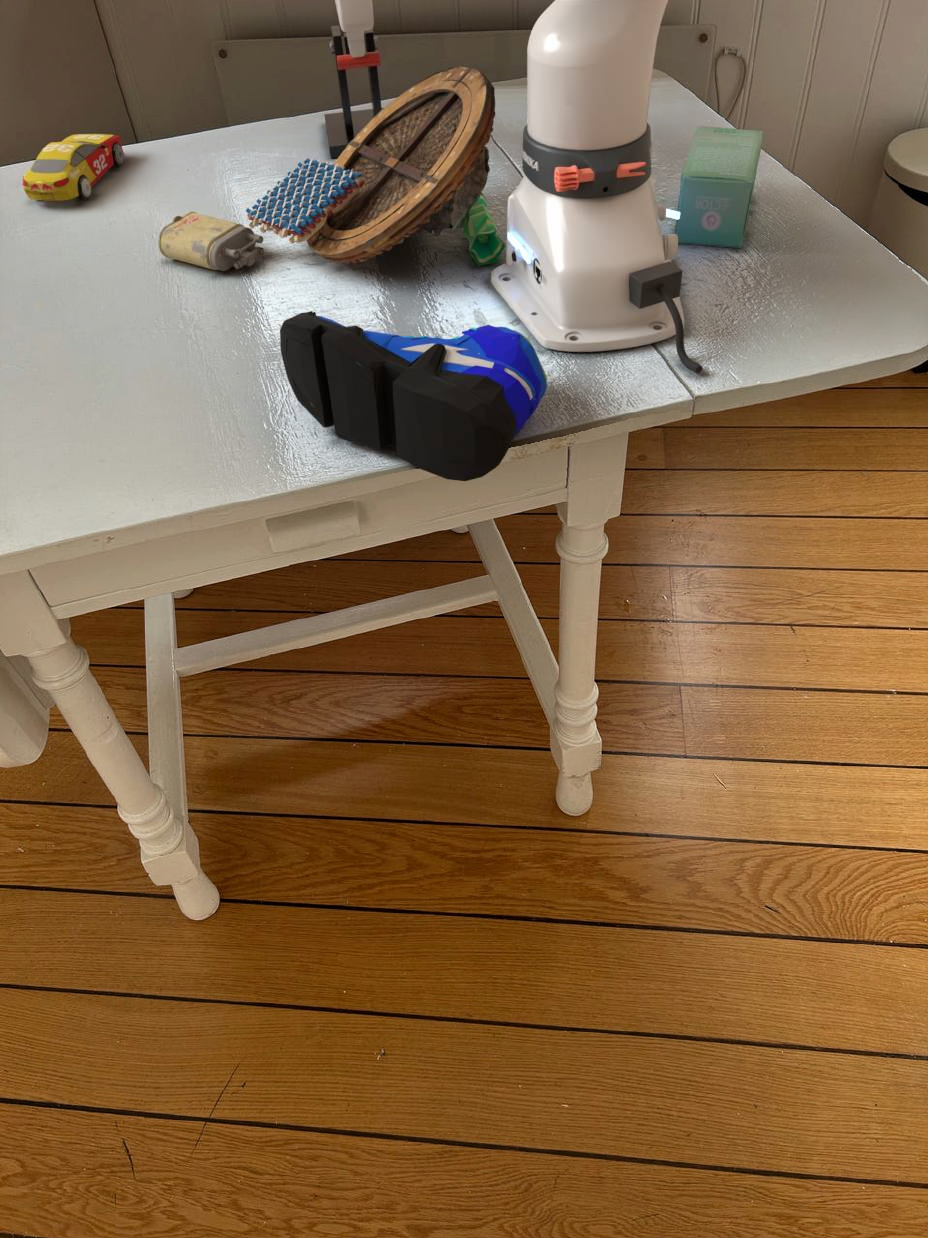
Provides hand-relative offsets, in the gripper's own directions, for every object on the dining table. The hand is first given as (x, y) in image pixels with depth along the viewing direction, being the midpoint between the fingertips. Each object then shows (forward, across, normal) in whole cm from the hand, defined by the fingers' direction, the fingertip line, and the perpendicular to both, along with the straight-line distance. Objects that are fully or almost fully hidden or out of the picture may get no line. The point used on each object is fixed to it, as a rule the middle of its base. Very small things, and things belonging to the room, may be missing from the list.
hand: (357, 52), depth 110 cm
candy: (+9, -24, -9) cm, 27 cm away
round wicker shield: (-2, -18, -12) cm, 22 cm away
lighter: (+11, -18, +23) cm, 31 cm away
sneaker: (+8, -60, +5) cm, 61 cm away
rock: (+7, -24, -1) cm, 25 cm away
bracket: (+13, +10, 0) cm, 16 cm away
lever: (+3, +5, 0) cm, 6 cm away
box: (+13, -26, -36) cm, 46 cm away
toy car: (+13, +6, +37) cm, 40 cm away
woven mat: (+8, -22, +8) cm, 25 cm away
